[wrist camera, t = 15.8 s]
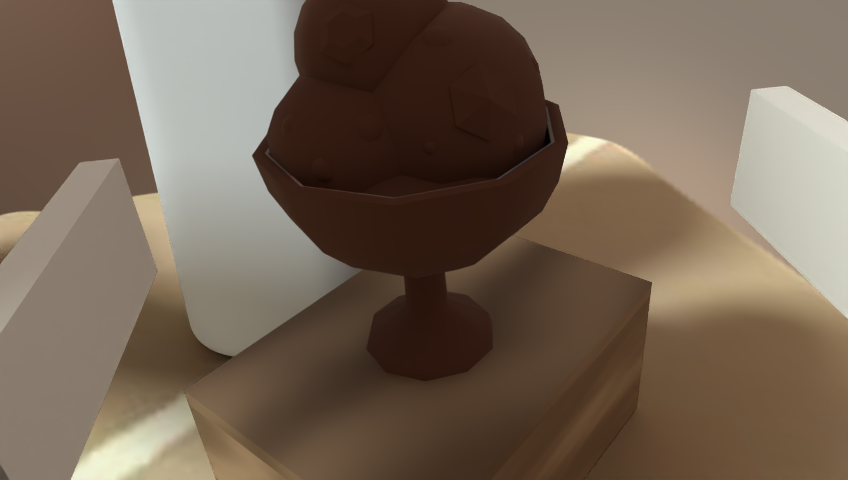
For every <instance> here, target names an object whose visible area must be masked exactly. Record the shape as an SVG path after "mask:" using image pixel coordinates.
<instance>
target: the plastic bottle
mask: <svg viewBox="0 0 848 480" xmlns="http://www.w3.org/2000/svg"><path fill="white" fill-rule="evenodd" d="M112 1H113V5H114V9H115V13H116V17H117V21H118V26H119V30H120V34H121V38H122V42H123V46H124V50H125V55H126V59H127V63H128V68H129V72H130V76H131V80H132V84H133V89H134V93H135V97H136V101H137V105H138V109H139V114H140V118H141V122H142V126H143V131H144V135H145V139H146V143H147V147H148V151H149V155H150V160H151V164H152V168H153V172H154V176H155V181H156V185H157V189H158V193H159V198H160V202H161V206H162V210H163V214H164V219H165V223H166V227H167V231H168V235H169V240H170V244H171V248H172V252H173V256H174V261H175V265H176V269H177V273H178V277H179V281H180V286H181V290H182V294H183V298H184V302H185V307H186V311H187V315H188V319H189V323H190V327H191V329H192V331H193V333H194V335H195V336H196V338H197V339H198V340H199V341H200V342H201V343H202V344H203V345H205V346H206V347H207V348H209V349H211V350H213V351H215V352H218V353H220V354H224V355H228V356H236V355H237V354H238V353H240V352H241V351H243V350H244V349H246V348H247V347H249V346H250V345H252V344H253V343H255V342H256V341H258V340H259V339H261V338H262V337H264V336H265V335H267V334H268V333H270V332H271V331H273V330H274V329H276V328H277V327H278V326H280V325H281V324H283V323H284V322H286V321H287V320H289V319H290V318H292V317H293V316H295V315H296V314H298V313H299V312H301V311H302V310H304V309H305V308H307V307H308V306H310V305H311V304H313V303H314V302H316V301H317V300H318V299H320V298H321V297H323V296H324V295H326V294H327V293H329V292H330V291H332V290H333V289H335V288H336V287H338V286H339V285H341V284H342V283H344V282H345V281H347V280H348V279H350V278H351V277H353V276H354V275H355V274H357V273H358V272H360V271H361V270H363V269H359V268H353V267H350V266H348V265H346V264H344V263H342V262H340V261H338V260H336V259H334V258H332V257H330V256H328V255H326V254H324V253H323V252H322V251H321V250H320V249H319V248H318V247H317V246H316V245H315V244H314V243H313V242H312V241H311V240H310V239H309V238H308V237H307V236H306V235H305V233H304V232H303V231H302V230H301V229H300V228H299V227H298V226H297V225H296V224H295V223H294V222H293V221H292V220H291V219H290V218H289V216H288V215H287V214H286V213H285V212H284V210H283V209H282V208H281V207H280V205H279V204H278V203H277V202H276V200H275V199H274V198H273V197H272V195H271V194H270V193H269V192H268V190H267V187H266V185H265V183H264V181H263V179H262V177H261V175H260V172H259V170H258V168H257V166H256V164H255V162H254V159H253V157H252V154H253V153H254V152H255V150H256V149H257V147H258V146H259V144H260V143H261V142H262V140H263V139H264V137H265V136H266V134H267V132H268V128H269V125H270V122H271V119H272V116H273V112H274V109H275V108H276V107H277V105H278V104H279V103H280V101H281V100H282V98H283V97H284V96H285V94H286V93H287V92H288V90H289V89H290V88H291V86H292V85H293V83H294V82H295V81H296V79H297V78H298V77H299V72H298V69H297V67H296V64H295V61H294V31H295V27H296V24H297V20H298V17H299V14H300V10H301V7H302V5H303V3H304V2H305V1H306V0H112Z"/></svg>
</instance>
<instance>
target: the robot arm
mask: <svg viewBox="0 0 848 480" xmlns="http://www.w3.org/2000/svg"><path fill="white" fill-rule="evenodd" d="M730 205H731V206H732V207H733V208H734V209H735V210H736V211H737V212H738V213H739V214H740V215H741V216H742V217H743V218H744V219H745V220H746V221H747V222H748V223H749V224H750V225H751V226H752V227H753V228H755V229H756V230H757V231H758V232H759V233H760V234H761V235H762V236H763V237H764V238H765V239H766V240H767V241H768V242H769V243H770V244H771V245H772V246H773V247H774V248H775V249H776V250H777V251H778V252H779V253H780V254H781V255H782V256H783V257H784V258H785V259H786V260H787V261H788V262H789V263H790V264H791V265H793V266H794V267H795V268H796V269H797V270H798V271H799V272H800V273H801V274H802V275H803V276H804V277H805V278H806V279H807V280H808V281H809V282H810V283H811V284H812V285H813V286H814V287H815V288H816V289H817V290H818V291H819V292H820V293H821V294H822V295H823V296H824V297H825V298H826V299H827V300H829V301H830V302H831V303H832V304H833V305H834V306H835V307H836V308H837V309H838V310H839V311H840V312H841V313H842V314H843V315H844V316H845V317H846V318H847V319H848V121H846V120H844V119H843V118H841V117H839V116H838V115H836V114H834V113H832V112H831V111H829V110H827V109H826V108H824V107H822V106H820V105H819V104H817V103H815V102H813V101H812V100H810V99H808V98H807V97H805V96H803V95H801V94H799V93H798V92H796V91H794V90H793V89H791V88H789V87H788V86H782V87H773V88H763V89H755V90H751V95H750V100H749V106H748V111H747V116H746V121H745V126H744V132H743V138H742V142H741V147H740V152H739V158H738V163H737V169H736V173H735V179H734V184H733V189H732V194H731V200H730ZM156 273H157V268H156V265H155V263H154V260H153V257H152V254H151V251H150V248H149V245H148V242H147V239H146V236H145V233H144V231H143V228H142V225H141V222H140V219H139V216H138V213H137V210H136V207H135V204H134V201H133V199H132V196H131V193H130V190H129V187H128V184H127V181H126V178H125V175H124V173H123V169H122V167H121V164H120V161H119V159H108V160H99V161H91V162H81V163H79V164H78V166H77V167H76V168H75V169H74V171H73V172H72V173H71V175H70V176H69V177H68V178H67V180H66V181H65V182H64V184H63V185H62V186H61V187H60V189H59V190H58V191H57V192H56V194H55V195H54V196H53V198H52V199H51V200H50V201H49V203H48V204H47V205H46V206H45V208H44V209H43V210H42V212H41V213H40V214H39V215H38V217H37V218H36V219H35V220H34V222H33V223H32V224H31V226H30V227H29V228H28V229H27V231H26V232H25V233H24V234H23V236H22V237H21V238H20V240H19V241H18V242H17V243H16V245H15V246H14V247H13V249H12V250H11V251H10V252H9V254H8V255H7V256H6V257H5V259H4V260H3V261H2V263H1V264H0V480H71V477H72V475H73V473H74V470H75V468H76V465H77V463H78V461H79V458H80V456H81V453H82V451H83V449H84V446H85V444H86V441H87V439H88V437H89V434H90V432H91V429H92V427H93V425H94V422H95V420H96V417H97V415H98V413H99V410H100V408H101V405H102V403H103V401H104V398H105V396H106V393H107V391H108V389H109V386H110V384H111V381H112V379H113V377H114V374H115V372H116V369H117V367H118V365H119V362H120V360H121V357H122V355H123V353H124V350H125V348H126V345H127V343H128V341H129V338H130V336H131V333H132V331H133V329H134V326H135V324H136V321H137V319H138V317H139V314H140V312H141V309H142V307H143V305H144V302H145V300H146V297H147V295H148V293H149V290H150V288H151V285H152V283H153V281H154V278H155V276H156Z"/></svg>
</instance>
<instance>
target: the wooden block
mask: <svg viewBox="0 0 848 480" xmlns="http://www.w3.org/2000/svg"><path fill="white" fill-rule="evenodd" d="M445 276H446V285H447V291H448V292H454V293H460V294H465V295H468V296H469V297H470V298H471V299H473V300H474V301H475V302H476V303H477V304H479V305H480V306H481V307H482V308H483V309H485V310H486V311H487V312H488V313H489V315H490V318H491V320H492V327H493V349H492V350H490V351H489V352H488V353H487V354H486V355H485V356H484V357H483V358H482V359H481V360H480V361H479V362H478V363H476V364H475V365H474V366H473V367H472V368H471V369H470V370H469V371H468V372H465V373H460V374H456V375H451V376H447V377H443V378H438V379H434V380H430V381H421V380H417V379H413V378H408V377H404V376H400V375H396V374H391V373H387V372H385V371H384V369H383V368H382V367H381V366H380V365H379V364H378V362H377V361H376V360H375V359H374V358H373V357H372V355H371V354H370V353H369V352H368V351H367V350H366V348H367V343H368V339H369V334H370V330H371V325H372V321H373V317H374V314H375V313H376V312H378V311H379V310H380V309H382V308H383V307H384V306H386V305H387V304H389V303H390V302H391V301H393V300H394V299H395V298H397V297H398V296H401V295H405V284H404V276H399V275H393V274H388V273H382V272H376V271H370V270H365V269H363V270H361V271H360V272H358V273H357V274H355V275H354V276H353V277H351V278H350V279H348V280H347V281H345V282H344V283H342V284H341V285H339V286H338V287H336V288H335V289H333V290H332V291H330V292H329V293H327V294H326V295H324V296H323V297H321V298H320V299H318V300H317V301H316V302H314V303H313V304H311V305H310V306H308V307H307V308H305V309H304V310H302V311H301V312H299V313H298V314H296V315H295V316H293V317H292V318H290V319H289V320H287V321H286V322H284V323H283V324H281V325H280V326H278V327H277V328H276V329H274V330H273V331H271V332H270V333H268V334H267V335H265V336H264V337H262V338H261V339H259V340H258V341H256V342H255V343H253V344H252V345H250V346H249V347H247V348H246V349H244V350H243V351H241V352H240V353H238V354H237V355H236V356H234V357H233V358H231V359H230V360H228V361H227V362H225V363H224V364H222V365H221V366H219V367H218V368H216V369H215V370H213V371H212V372H210V373H209V374H207V375H206V376H204V377H203V378H201V379H200V380H199V381H197V382H196V383H194V384H193V385H191V386H190V387H188V388H187V389H185V390H184V392H185V395H186V398H187V401H188V403H189V406H190V409H191V412H192V414H193V417H194V420H195V423H196V425H197V428H198V431H199V434H200V436H201V439H202V442H203V445H204V447H205V450H206V453H207V456H208V458H209V461H210V464H211V467H212V469H213V472H214V475H215V478H216V480H584V479H585V477H586V476H587V475H588V473H589V472H590V471H591V469H592V468H593V466H594V465H595V464H596V462H597V461H598V460H599V458H600V457H601V456H602V454H603V453H604V452H605V450H606V449H607V448H608V446H609V445H610V443H611V442H612V441H613V439H614V438H615V437H616V435H617V434H618V433H619V431H620V430H621V429H622V427H623V426H624V425H625V423H626V422H627V420H628V419H629V418H630V416H631V415H632V414H633V412H634V411H635V410H636V408H637V401H638V393H639V385H640V376H641V368H642V360H643V352H644V344H645V335H646V327H647V319H648V311H649V302H650V294H651V286H652V282H649V281H646V280H643V279H640V278H637V277H634V276H632V275H629V274H626V273H623V272H620V271H617V270H614V269H611V268H608V267H605V266H602V265H599V264H596V263H593V262H590V261H587V260H584V259H581V258H578V257H575V256H572V255H569V254H566V253H563V252H560V251H557V250H554V249H551V248H549V247H546V246H543V245H540V244H537V243H534V242H531V241H528V240H525V239H522V238H519V237H516V236H513V235H512V236H511V237H510V238H508V239H507V240H506V241H504V242H503V243H502V244H501V245H499V246H498V247H497V248H495V249H494V250H493V251H491V252H490V253H489V254H488V255H486V256H485V257H484V258H482V259H481V260H480V261H479V262H477V263H476V264H475V265H472V266H468V267H465V268H462V269H458V270H454V271H449V272H445Z"/></svg>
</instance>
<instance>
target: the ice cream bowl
mask: <svg viewBox="0 0 848 480" xmlns="http://www.w3.org/2000/svg"><path fill="white" fill-rule="evenodd" d="M294 61H295V64H296V67H297V69H298V72H299V77H298V78H297V79H296V81H295V82H294V83H293V85H292V86H291V88H290V89H289V90H288V92H287V93H286V94H285V96H284V97H283V98H282V100H281V101H280V103H279V104H278V105H277V107H276V108H275V109H274V112H273V116H272V119H271V122H270V125H269V128H268V132H267V134H266V136H265V137H264V139H263V140H262V142H261V143H260V144H259V146H258V147H257V149H256V150H255V152H254V153H253V154H252V157H253V159H254V162H255V164H256V166H257V168H258V170H259V172H260V175H261V177H262V179H263V181H264V183H265V185H266V187H267V190H268V192H269V193H270V194H271V195H272V197H273V198H274V199H275V200H276V202H277V203H278V204H279V205H280V207H281V208H282V209H283V210H284V212H285V213H286V214H287V215H288V216H289V218H290V219H291V220H292V221H293V222H294V223H295V224H296V225H297V226H298V227H299V228H300V229H301V230H302V231H303V232H304V233H305V235H306V236H307V237H308V238H309V239H310V240H311V241H312V242H313V243H314V244H315V245H316V246H317V247H318V248H319V249H320V250H321V251H322V252H323V253H324V254H326V255H328V256H330V257H332V258H334V259H336V260H338V261H340V262H342V263H344V264H346V265H348V266H350V267H353V268H359V269H365V270H370V271H376V272H382V273H388V274H393V275H399V276H404V284H405V295H401V296H398V297H397V298H395V299H394V300H393V301H391V302H390V303H389V304H387V305H386V306H384V307H383V308H382V309H380V310H379V311H378V312H376V313H375V314H374V317H373V321H372V325H371V330H370V334H369V339H368V343H367V348H366V350H367V351H368V352H369V353H370V354H371V355H372V357H373V358H374V359H375V360H376V361H377V362H378V364H379V365H380V366H381V367H382V368H383V369H384V371H385V372H387V373H391V374H396V375H400V376H404V377H408V378H413V379H417V380H421V381H430V380H434V379H438V378H443V377H447V376H451V375H456V374H460V373H465V372H468V371H469V370H470V369H471V368H472V367H473V366H474V365H475V364H476V363H478V362H479V361H480V360H481V359H482V358H483V357H484V356H485V355H486V354H487V353H488V352H489V351H490V350H492V349H493V327H492V320H491V318H490V315H489V313H488V312H487V311H486V310H485V309H483V308H482V307H481V306H480V305H479V304H477V303H476V302H475V301H474V300H473V299H471V298H470V297H469V296H468V295H465V294H460V293H454V292H448V291H447V285H446V276H445V272H449V271H454V270H458V269H462V268H465V267H468V266H472V265H475V264H476V263H477V262H479V261H480V260H481V259H482V258H484V257H485V256H486V255H488V254H489V253H490V252H491V251H493V250H494V249H495V248H497V247H498V246H499V245H501V244H502V243H503V242H504V241H506V240H507V239H508V238H510V237H511V236H512V235H513V234H515V233H516V232H517V231H518V230H519V229H521V228H522V227H523V226H524V225H526V224H527V223H528V222H529V221H531V220H532V219H533V218H534V217H535V216H537V215H538V214H539V213H540V212H542V210H543V208H544V207H545V205H546V203H547V201H548V200H549V198H550V196H551V194H552V192H553V191H554V189H555V187H556V185H557V184H558V182H559V178H560V174H561V170H562V166H563V162H564V158H565V154H566V150H567V146H568V140H567V136H566V132H565V128H564V124H563V121H562V116H561V112H560V109H559V105H558V104H555V103H553V102H550V101H548V100H545V98H544V91H543V85H542V80H541V76H540V71H539V66H538V63H537V61H536V59H535V57H534V55H533V54H532V52H531V50H530V48H529V46H528V44H527V42H526V40H525V38H524V37H523V36H522V35H521V34H520V33H519V32H517V31H516V30H515V29H514V28H513V27H512V26H511V25H510V24H509V23H508V22H506V21H505V20H504V19H503V18H502V17H500V16H497V15H495V14H492V13H490V12H487V11H485V10H482V9H479V8H477V7H474V6H472V5H468V4H465V3H462V2H448V1H447V0H306V1H305V2H304V3H303V5H302V7H301V10H300V14H299V17H298V20H297V24H296V27H295V31H294Z"/></svg>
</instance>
